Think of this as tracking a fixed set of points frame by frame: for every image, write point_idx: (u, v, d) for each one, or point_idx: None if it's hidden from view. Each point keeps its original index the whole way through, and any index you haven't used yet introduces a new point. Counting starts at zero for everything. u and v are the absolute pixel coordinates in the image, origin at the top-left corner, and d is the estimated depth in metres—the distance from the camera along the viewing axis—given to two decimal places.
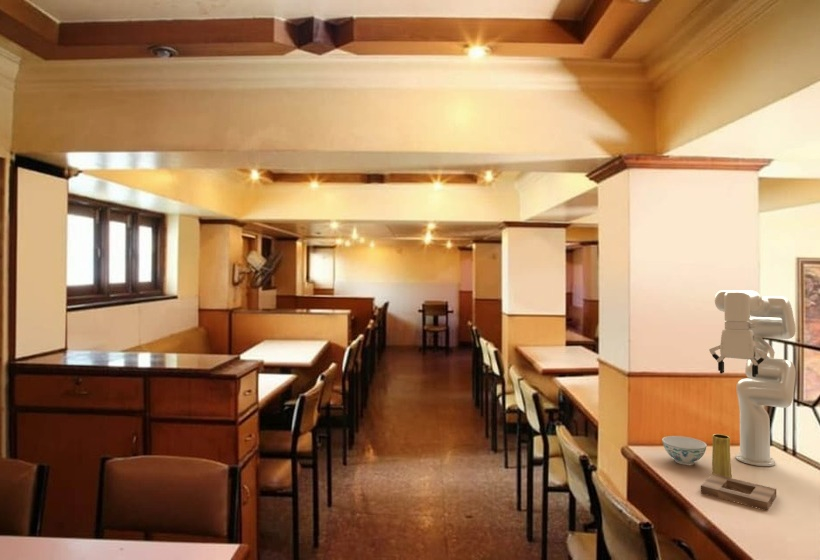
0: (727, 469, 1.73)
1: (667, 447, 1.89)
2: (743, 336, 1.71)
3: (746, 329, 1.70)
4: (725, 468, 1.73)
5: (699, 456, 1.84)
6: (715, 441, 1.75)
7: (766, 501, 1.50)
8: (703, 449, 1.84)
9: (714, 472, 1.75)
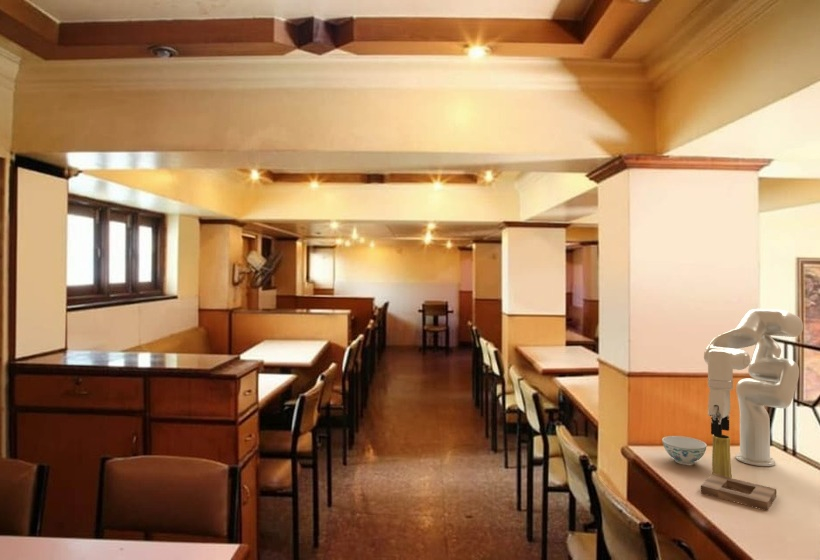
0: (727, 469, 1.73)
1: (667, 447, 1.89)
2: (729, 393, 1.76)
3: None
4: (725, 468, 1.73)
5: (699, 456, 1.84)
6: (715, 441, 1.75)
7: (766, 501, 1.50)
8: (703, 449, 1.84)
9: (714, 472, 1.75)
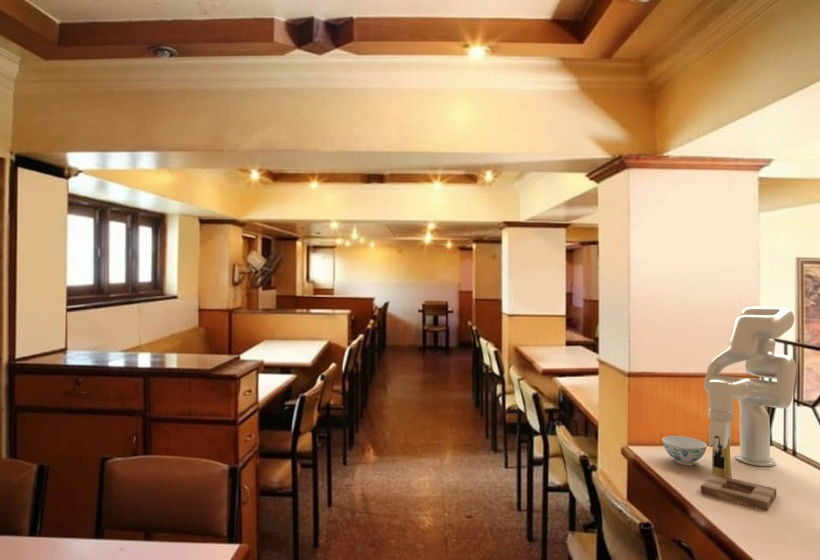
0: (727, 469, 1.73)
1: (667, 447, 1.89)
2: (730, 423, 1.76)
3: None
4: (725, 468, 1.73)
5: (699, 456, 1.84)
6: None
7: (766, 501, 1.50)
8: (703, 449, 1.84)
9: (714, 472, 1.75)
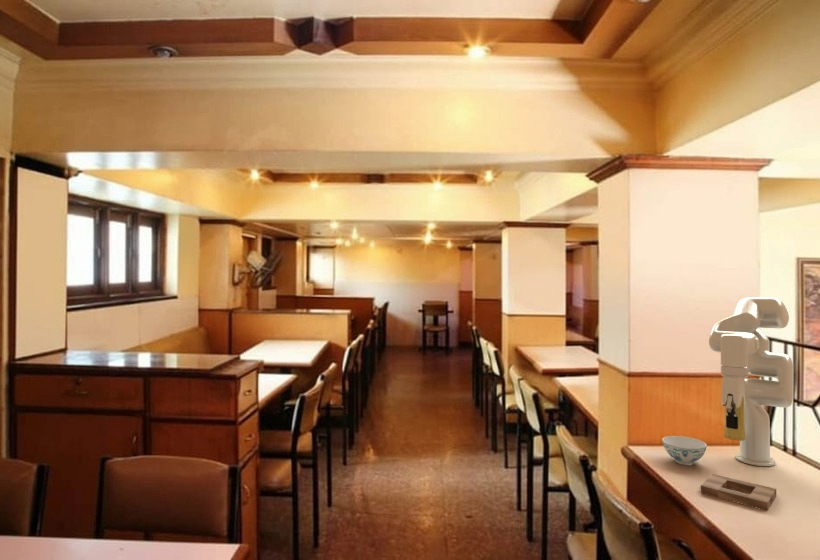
0: (741, 430, 1.59)
1: (667, 447, 1.89)
2: (744, 381, 1.62)
3: None
4: (738, 429, 1.59)
5: (699, 456, 1.84)
6: None
7: (766, 501, 1.50)
8: (703, 449, 1.84)
9: (726, 433, 1.62)
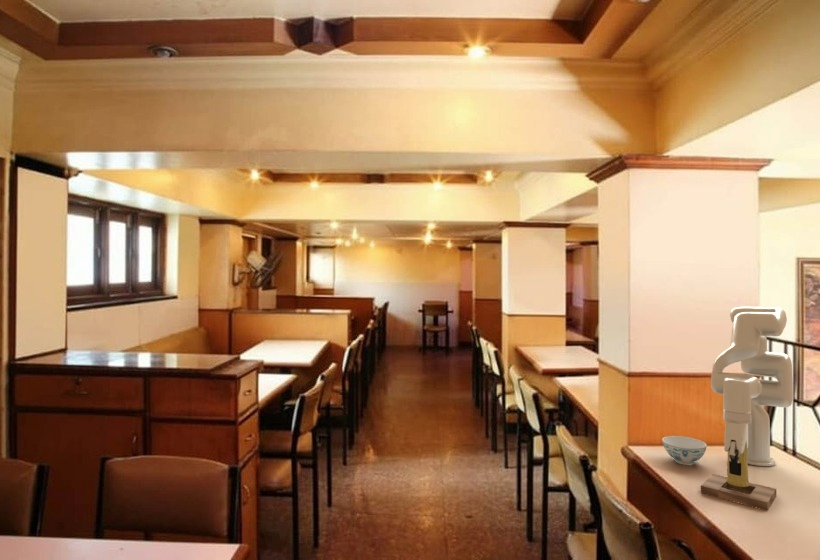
0: (744, 476, 1.57)
1: (667, 447, 1.89)
2: (747, 426, 1.60)
3: None
4: (742, 475, 1.57)
5: (699, 456, 1.84)
6: None
7: (766, 501, 1.50)
8: (703, 449, 1.84)
9: (729, 479, 1.60)
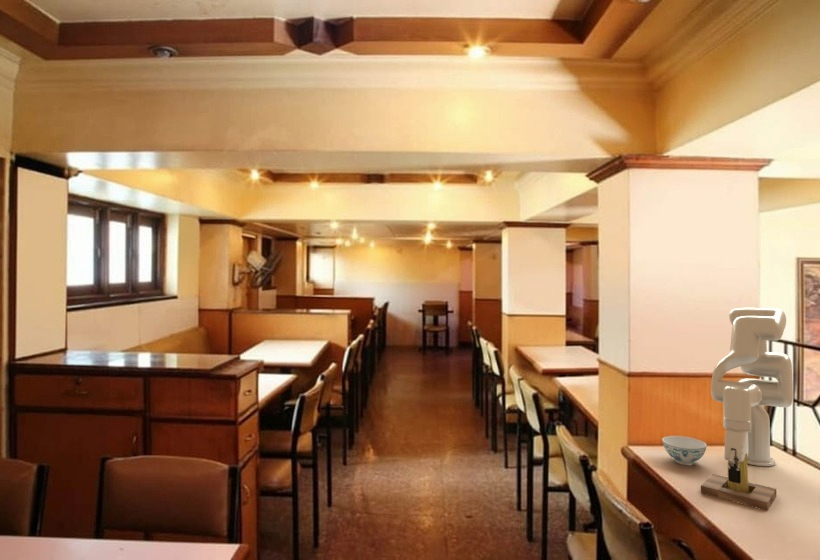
0: (744, 487, 1.58)
1: (667, 447, 1.89)
2: (747, 434, 1.60)
3: None
4: (742, 486, 1.58)
5: (699, 456, 1.84)
6: None
7: (766, 501, 1.50)
8: (703, 449, 1.84)
9: None
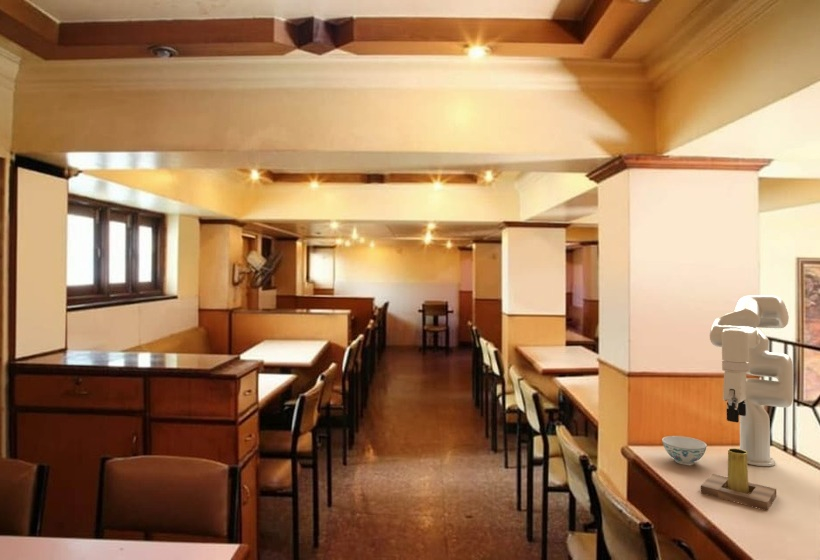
0: (744, 487, 1.58)
1: (667, 447, 1.89)
2: (745, 376, 1.62)
3: None
4: (742, 486, 1.58)
5: (699, 456, 1.84)
6: (731, 456, 1.60)
7: (766, 501, 1.50)
8: (703, 449, 1.84)
9: None
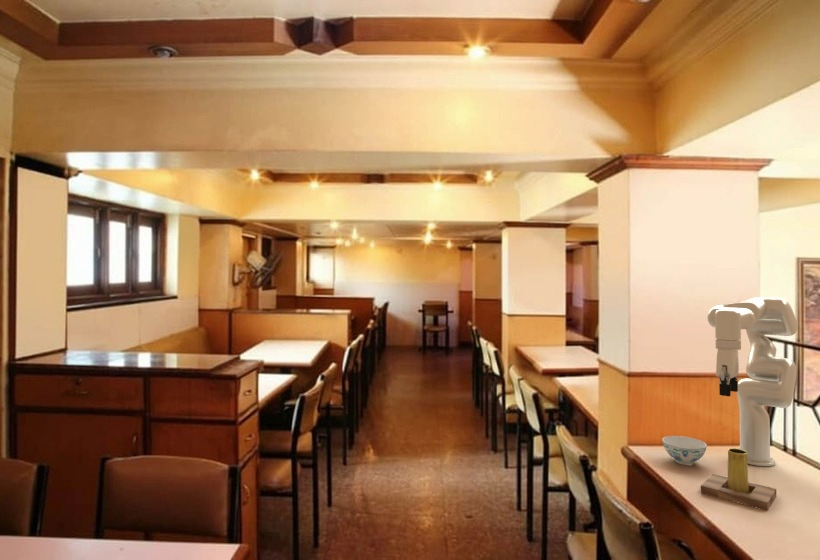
0: (744, 487, 1.58)
1: (667, 447, 1.89)
2: (737, 353, 1.72)
3: None
4: (742, 486, 1.58)
5: (699, 456, 1.84)
6: (731, 456, 1.60)
7: (766, 501, 1.50)
8: (703, 449, 1.84)
9: None
